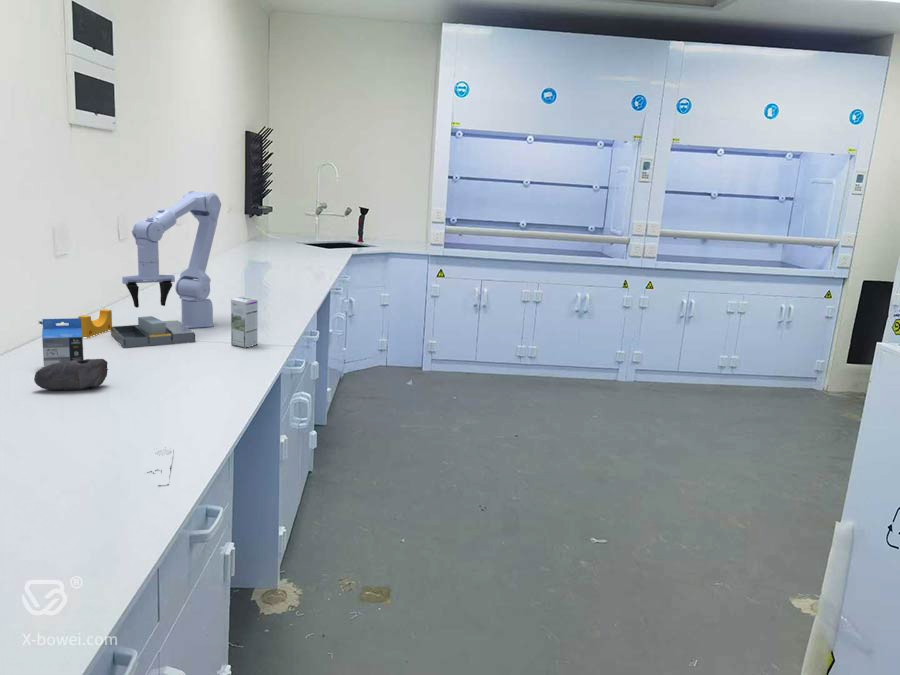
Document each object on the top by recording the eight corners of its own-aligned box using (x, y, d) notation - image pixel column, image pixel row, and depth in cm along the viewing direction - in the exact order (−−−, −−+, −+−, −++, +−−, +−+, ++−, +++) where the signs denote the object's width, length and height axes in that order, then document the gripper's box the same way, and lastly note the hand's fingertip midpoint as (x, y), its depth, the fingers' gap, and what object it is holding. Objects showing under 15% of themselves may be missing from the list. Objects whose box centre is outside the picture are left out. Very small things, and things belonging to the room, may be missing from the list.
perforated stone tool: (33, 394, 152) (31, 364, 150) (36, 387, 156) (34, 358, 155) (107, 390, 158) (106, 362, 156) (109, 384, 162) (107, 356, 161)
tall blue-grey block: (151, 331, 210) (151, 316, 209) (165, 338, 204) (165, 322, 202) (138, 333, 207) (138, 317, 206) (152, 340, 201) (152, 323, 199)
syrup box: (258, 345, 207) (258, 298, 204) (245, 348, 202) (245, 301, 198) (243, 342, 209) (244, 296, 206) (230, 345, 204) (230, 298, 201)
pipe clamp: (99, 328, 212) (98, 308, 211) (112, 330, 212) (111, 310, 210) (73, 337, 201) (72, 315, 199) (87, 338, 200) (86, 317, 199)
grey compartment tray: (179, 330, 217) (178, 319, 217) (195, 342, 205) (195, 331, 204) (111, 334, 205) (110, 324, 205) (123, 348, 193) (123, 336, 192)
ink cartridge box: (43, 370, 168) (40, 322, 165) (44, 366, 172) (41, 318, 169) (84, 368, 172) (81, 321, 170) (84, 364, 176) (81, 317, 173)
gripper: (169, 259, 210) (170, 302, 213) (118, 260, 201) (120, 305, 204) (176, 262, 204) (177, 306, 208) (125, 263, 195) (127, 309, 199)
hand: (149, 306), depth 205 cm, fingers open, 7 cm apart
